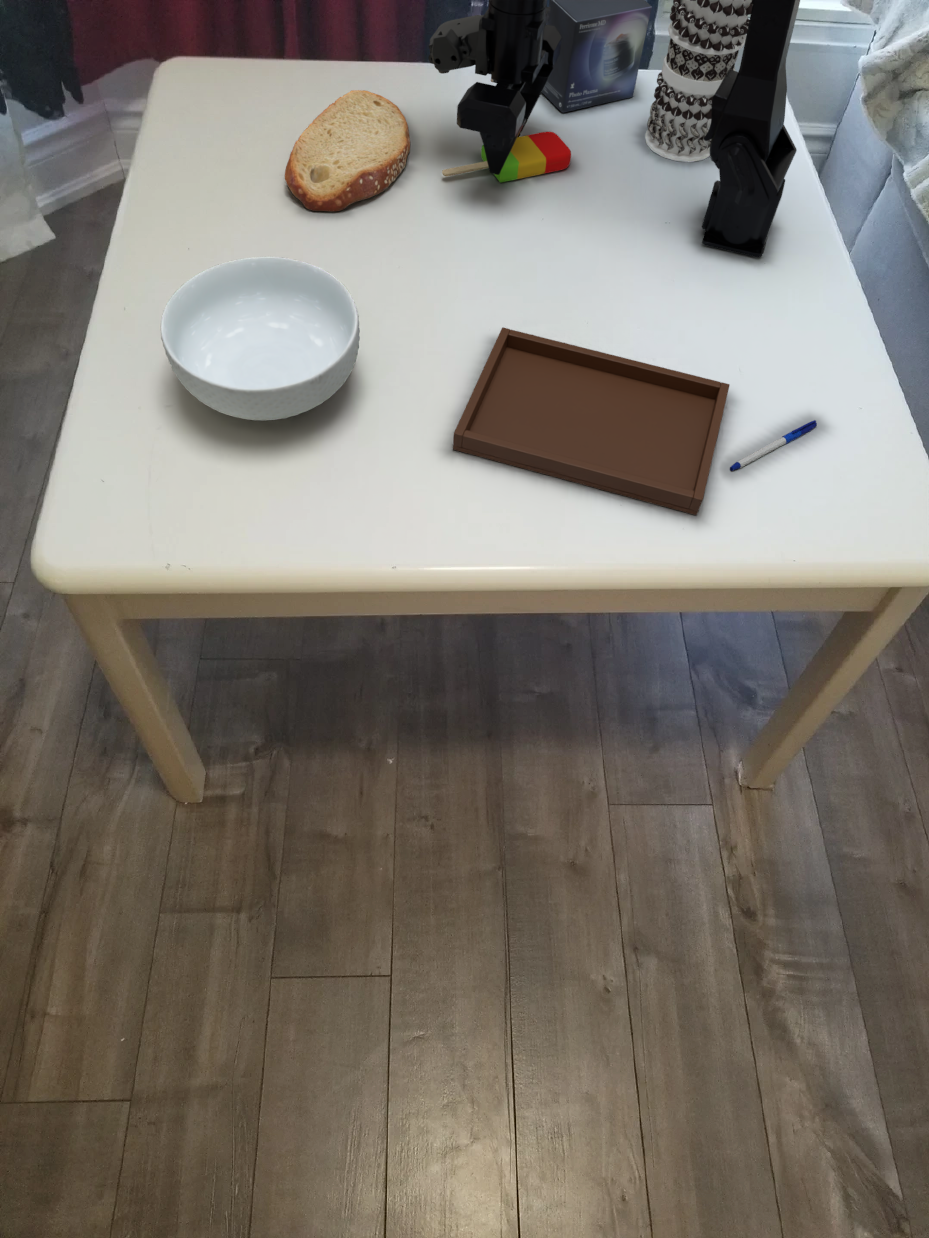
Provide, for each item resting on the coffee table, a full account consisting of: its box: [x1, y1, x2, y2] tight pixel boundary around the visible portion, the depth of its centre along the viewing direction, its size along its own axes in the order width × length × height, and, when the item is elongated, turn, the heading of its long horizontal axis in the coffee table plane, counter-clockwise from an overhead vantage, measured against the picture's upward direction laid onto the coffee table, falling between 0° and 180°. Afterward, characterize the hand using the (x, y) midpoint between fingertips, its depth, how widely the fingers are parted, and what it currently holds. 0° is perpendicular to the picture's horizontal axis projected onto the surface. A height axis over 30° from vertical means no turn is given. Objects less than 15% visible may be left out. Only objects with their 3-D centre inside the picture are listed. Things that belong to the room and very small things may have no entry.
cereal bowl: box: [160, 256, 361, 422], centre depth 80 cm, size 17×17×7 cm
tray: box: [452, 327, 730, 516], centre depth 81 cm, size 22×15×2 cm
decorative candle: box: [644, 0, 754, 163], centre depth 98 cm, size 9×9×25 cm
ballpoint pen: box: [729, 419, 818, 472], centre depth 81 cm, size 10×1×1 cm, turn 126°
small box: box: [541, 0, 653, 113], centre depth 109 cm, size 11×6×10 cm, turn 118°
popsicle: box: [441, 131, 572, 184], centre depth 103 cm, size 6×15×2 cm, turn 113°
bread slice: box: [284, 89, 411, 212], centre depth 102 cm, size 18×18×4 cm
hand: (504, 155), depth 103 cm, fingers closed on popsicle, 7 cm apart
